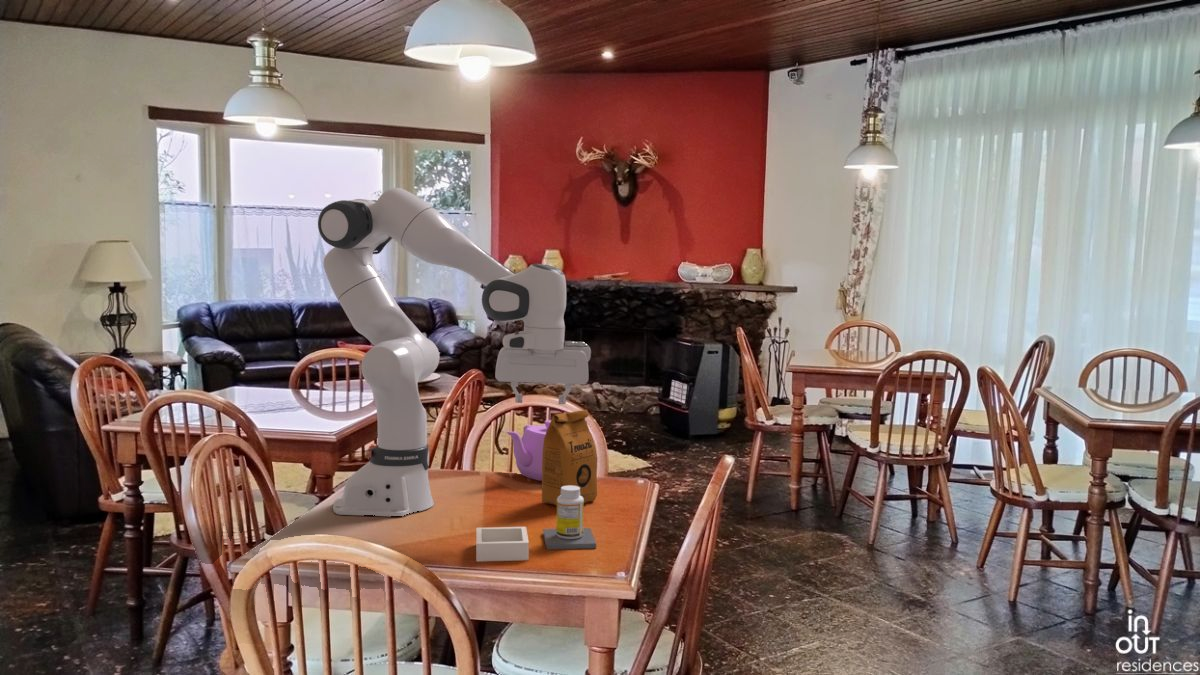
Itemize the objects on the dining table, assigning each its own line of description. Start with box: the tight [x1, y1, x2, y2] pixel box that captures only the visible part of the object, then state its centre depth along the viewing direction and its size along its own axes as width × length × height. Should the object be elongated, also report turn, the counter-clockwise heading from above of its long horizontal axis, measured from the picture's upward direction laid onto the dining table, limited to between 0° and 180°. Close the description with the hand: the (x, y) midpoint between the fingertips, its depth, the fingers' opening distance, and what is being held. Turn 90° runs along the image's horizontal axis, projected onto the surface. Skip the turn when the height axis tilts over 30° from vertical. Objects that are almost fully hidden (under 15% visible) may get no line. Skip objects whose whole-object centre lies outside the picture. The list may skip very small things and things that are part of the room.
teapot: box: [505, 419, 552, 482], centre depth 237 cm, size 23×21×15 cm
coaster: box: [542, 527, 597, 550], centre depth 186 cm, size 10×10×1 cm
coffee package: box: [541, 409, 598, 506], centre depth 213 cm, size 10×12×22 cm
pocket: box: [475, 526, 530, 562], centre depth 178 cm, size 10×10×4 cm
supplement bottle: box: [556, 485, 585, 539], centre depth 185 cm, size 6×6×10 cm
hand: (540, 403), depth 196 cm, fingers open, 8 cm apart
